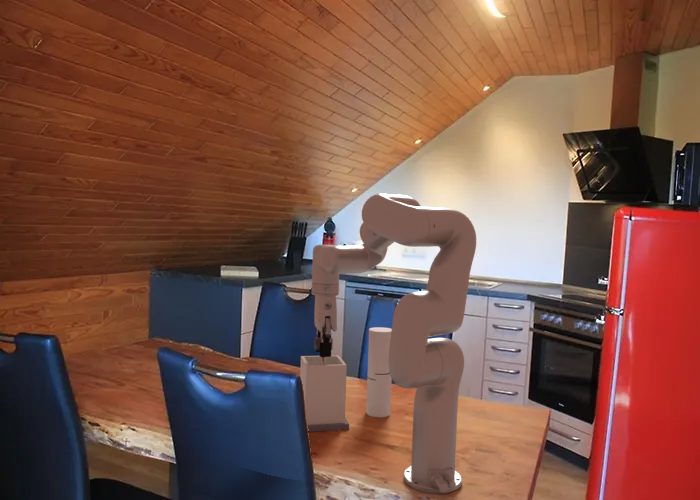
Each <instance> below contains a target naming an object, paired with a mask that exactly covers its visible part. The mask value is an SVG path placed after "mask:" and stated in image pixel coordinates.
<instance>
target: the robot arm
mask: <svg viewBox="0 0 700 500" xmlns="http://www.w3.org/2000/svg"><path fill="white" fill-rule="evenodd" d="M361 219H362V220H361V221H362V223H361V225H360V227H359V235H360V240H361V241H362V243H363V244H361V245H358V244H357V245H355V244H354V245H350V244H349V245H336V244H316V245H315V246H313V249H312V267H311V269H312V270H311V271H312V272H311V295H313V296H314V298H315V299H314V317H313V319H314V323H313V324H314V326H315V328H316V337H321V342H320V348H319V351H318V350H315V352H317V353H319V355H318V356H320V357H331V356H332V350H331V343H332V342H331V338H332V331H333V332H335V333H336V332H337V330H338V312H337V311H338V308H337V307H338V305H337V297H338V296H339V293H340V275H346V274H362V273H367V272H369V271H371V270H372V269H374V268H375V267H376V266H378V265H379V264H381V263H382V262H383V261H384V260H385V258H386V255H387V252H388V247H390V246H391V245H393V244H394V243H396V244H399V245H401V246H403V247H415V248H418V247H421V248H424V247H426V248H427V247H428V248H429V247H438V248H439V249H440V250H439V251H438V253H437V254H436V255H435V257H434V259H433V260H432V263H431V265H430V268H429V272H428V280H427V285H426V288H425V290H423V291H422V290H421V291H420V290H419V291H413V292H410V293H407V294H405V295H404V296H402V297H401V298H400V300H399V301H398V302H397V304H396V305H395V309H394V312H393V317H392V324H391V329H392V331H391V340H390V348H389V357H388V367H389V373H390V376H391V378H392V382H393V383H394V384H395V385H396V386H398V387H399V388H402V389H410V390H411V389H416V391H415V394H414V399H413V414H412V437H411V438H412V439H411V442H412V443H411V465H410V466H409V467H407V468H406V469H405V470H404V473H403V480H404V482H405V483H406V484H407V485H408V486H409V487H410V488H412V489H415V490H416V491H419V492H423V493H427V494H437V495H438V494H449V493H452V492H455V491H457V490H459V489H460V487H461V486H462V484H463V483H462V482H463V477H462V475H461V474H460V473H459V472H458V471H456V457H457V456H456V454H457V450H456V448H457V429H458V428H457V427H458V412H459V411H458V409H459V405H458V404H459V393H460V387H461V386H460V385H461V383H462V378H463V373H464V369H465V355H464V352H463V350H462V347H461V346H460V345H459V344H458V343H457V342H456V341H454V340H453V339H450V338H448V337H437V336H442V335H443V336H444V335H449V334H452V333H455V332H457V331H458V330H460V328H461V327H462V325H463V321H464V317H465V313H466V304H467V297H468V291H469V282H470V275H471V270H472V267H473V266H472V265H473V261H474V257H475V254H476V249H477V234H476V229H475V227H474V225H473V222H472V221H471V220H470V218H469V217H468V216H467V215H466V214H465V213H463V212H461V211H459V210H456V209H453V208H448V207H447V208H446V207H439V206H437V207H435V206H433V207H432V206H421V204H420V203H419V201H418V200H417V199H415V198H413V197H411V196H408V195H405V194H404V195H403V194H392V193H391V194H389V193H376V194H373V195H372V196H370V197H369V198H368V199H367V200H366V201H365V202H364V204H363V206H362V209H361ZM430 337H433V338H430Z"/></svg>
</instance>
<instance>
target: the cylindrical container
mask: <svg viewBox="0 0 700 500" xmlns="http://www.w3.org/2000/svg"><path fill="white" fill-rule="evenodd" d="M391 331H392V328H390V327H381V326H380V327H379V326H378V327H377V326H376V327H375V326H374V327H370V328H368V346H367V347H368V348H367V349H368V352H367V379H366V380H367V381H366V382H367V383H366V405H365V406H366V410H365V414H366V415H367V416H369V417H372V418H386V417H387V418H388V417H389V416H390V415H391V410H392V409H391V406H392V405H391V404H392V382H393V380H392V378H391V376H390V373H389V367H388V357H389V348H390V340H391Z"/></svg>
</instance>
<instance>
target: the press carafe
mask: <svg viewBox="0 0 700 500" xmlns="http://www.w3.org/2000/svg"><path fill="white" fill-rule="evenodd" d="M347 366H348V364H346V362H345V361H344V360H343V359H342V358H341V357H340V355H338V354H337V355H334V354H333V355H332V354H331V357H325V365H321V357H320V356H319V355H301V356H300V369H299V370H300V372H299V375H300V377H301V380H302V384H303V390H304V400H305V409H306V418H307V423H308V429H309V432H323V431H324V432H327V431H343V430H345V431H346V430H350V422H349V421H348V420H347V417H346V399H347V394H346V393H347ZM300 377H299V378H300Z"/></svg>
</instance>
